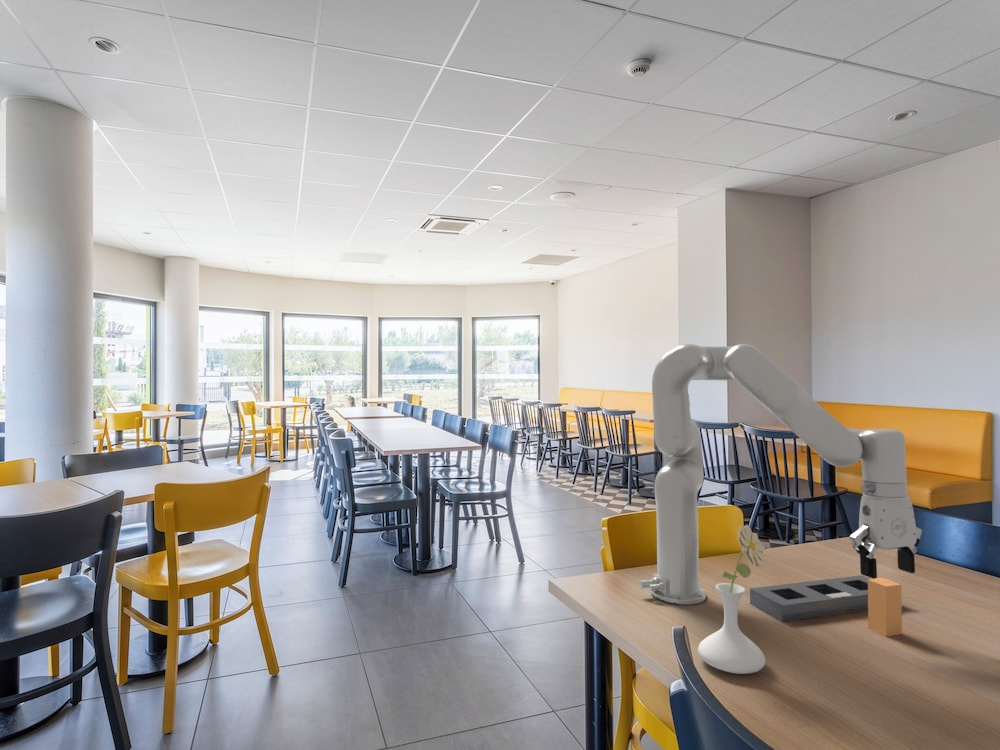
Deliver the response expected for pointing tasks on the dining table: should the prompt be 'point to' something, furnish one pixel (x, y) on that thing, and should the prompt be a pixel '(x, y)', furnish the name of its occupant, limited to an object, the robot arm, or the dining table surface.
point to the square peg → (884, 607)
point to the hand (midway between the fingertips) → (887, 573)
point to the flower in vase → (735, 617)
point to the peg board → (812, 598)
